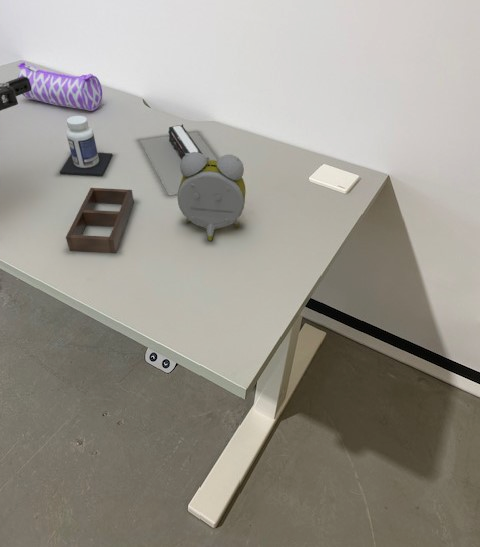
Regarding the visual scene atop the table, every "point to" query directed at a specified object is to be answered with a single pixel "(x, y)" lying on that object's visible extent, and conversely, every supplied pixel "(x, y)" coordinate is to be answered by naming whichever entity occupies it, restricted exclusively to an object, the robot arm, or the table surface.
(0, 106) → the robot arm
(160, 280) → the table surface
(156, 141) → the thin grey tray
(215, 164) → the alarm clock
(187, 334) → the table surface
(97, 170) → the rubber pad
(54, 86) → the pencil case
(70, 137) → the pill bottle
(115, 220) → the bottle holder
